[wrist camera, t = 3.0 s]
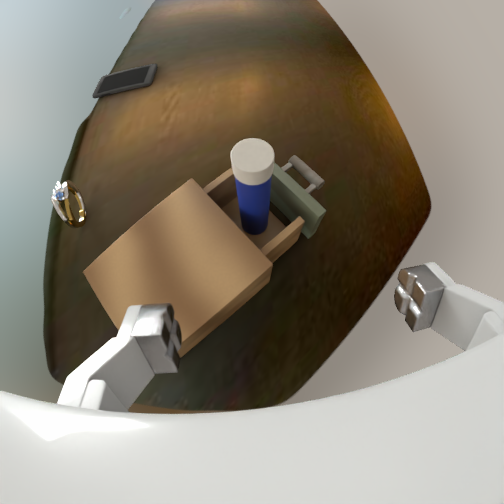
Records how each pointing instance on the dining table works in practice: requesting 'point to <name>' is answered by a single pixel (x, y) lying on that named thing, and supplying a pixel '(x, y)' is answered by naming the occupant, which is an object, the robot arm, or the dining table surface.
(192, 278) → the cabinet
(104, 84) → the cell phone
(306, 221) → the drawer
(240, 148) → the disc
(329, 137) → the dining table surface
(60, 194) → the ring
